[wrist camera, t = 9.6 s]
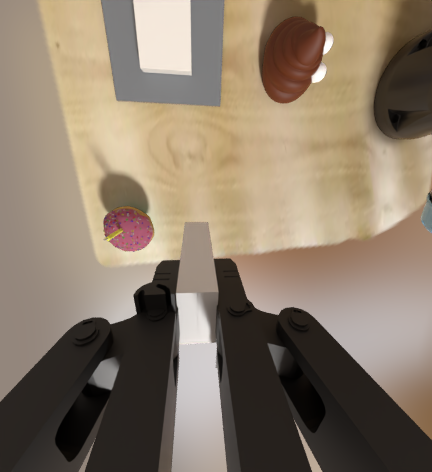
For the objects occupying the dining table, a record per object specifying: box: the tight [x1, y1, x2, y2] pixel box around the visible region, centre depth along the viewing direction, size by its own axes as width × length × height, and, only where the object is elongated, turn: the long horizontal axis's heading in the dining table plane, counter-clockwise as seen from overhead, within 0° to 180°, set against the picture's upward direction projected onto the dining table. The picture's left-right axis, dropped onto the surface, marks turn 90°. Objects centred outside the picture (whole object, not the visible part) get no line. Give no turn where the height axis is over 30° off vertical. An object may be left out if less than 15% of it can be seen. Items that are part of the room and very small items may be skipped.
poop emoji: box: [262, 17, 334, 103], centre depth 27 cm, size 10×8×9 cm
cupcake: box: [103, 206, 154, 252], centre depth 34 cm, size 9×8×12 cm
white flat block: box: [133, 0, 192, 76], centre depth 26 cm, size 7×2×10 cm
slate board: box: [101, 0, 224, 107], centre depth 28 cm, size 16×15×1 cm
